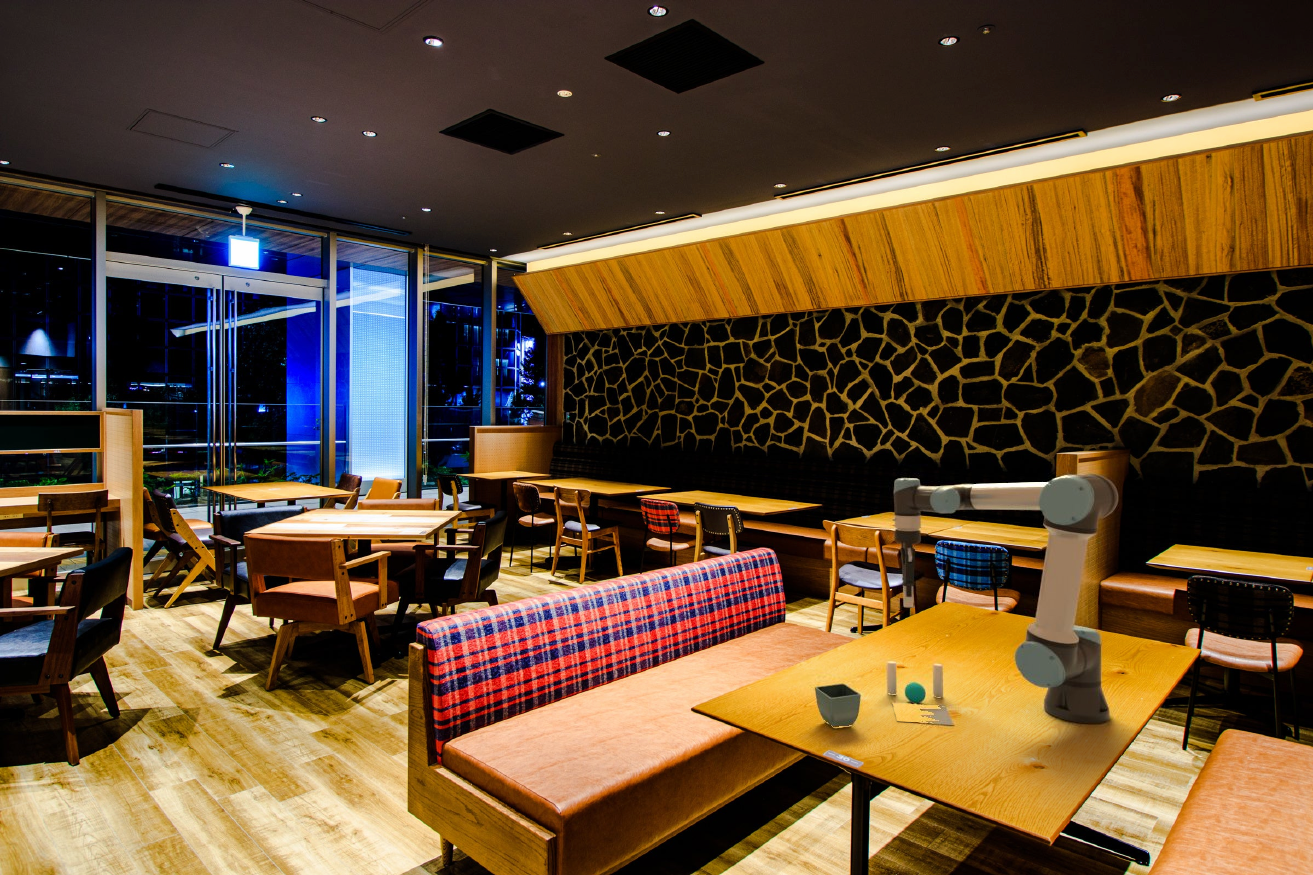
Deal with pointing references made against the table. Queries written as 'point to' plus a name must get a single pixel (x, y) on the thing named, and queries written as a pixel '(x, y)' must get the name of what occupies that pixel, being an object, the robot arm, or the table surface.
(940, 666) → the right post
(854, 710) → the flower pot
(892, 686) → the left post
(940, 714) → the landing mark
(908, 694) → the ball
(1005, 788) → the table surface
